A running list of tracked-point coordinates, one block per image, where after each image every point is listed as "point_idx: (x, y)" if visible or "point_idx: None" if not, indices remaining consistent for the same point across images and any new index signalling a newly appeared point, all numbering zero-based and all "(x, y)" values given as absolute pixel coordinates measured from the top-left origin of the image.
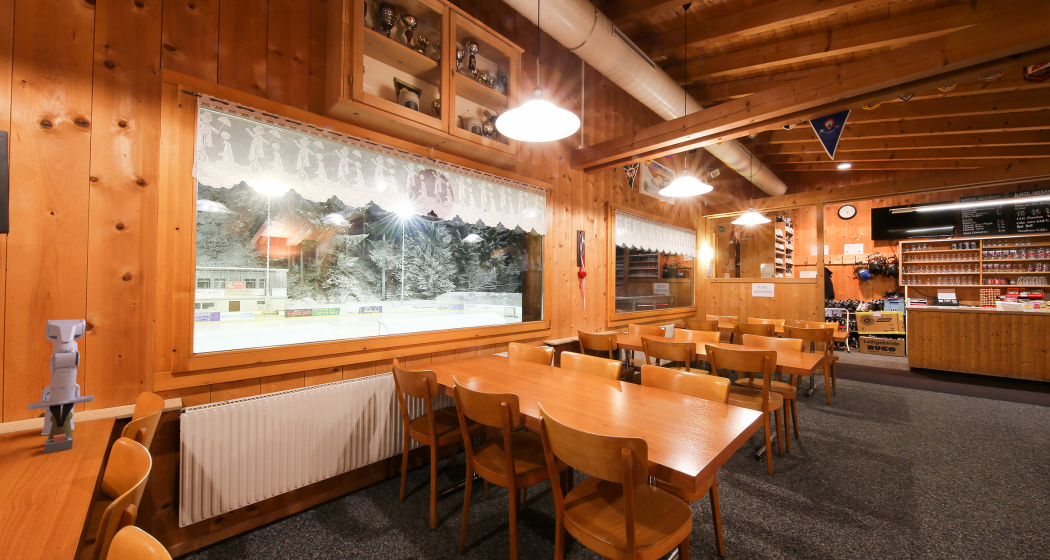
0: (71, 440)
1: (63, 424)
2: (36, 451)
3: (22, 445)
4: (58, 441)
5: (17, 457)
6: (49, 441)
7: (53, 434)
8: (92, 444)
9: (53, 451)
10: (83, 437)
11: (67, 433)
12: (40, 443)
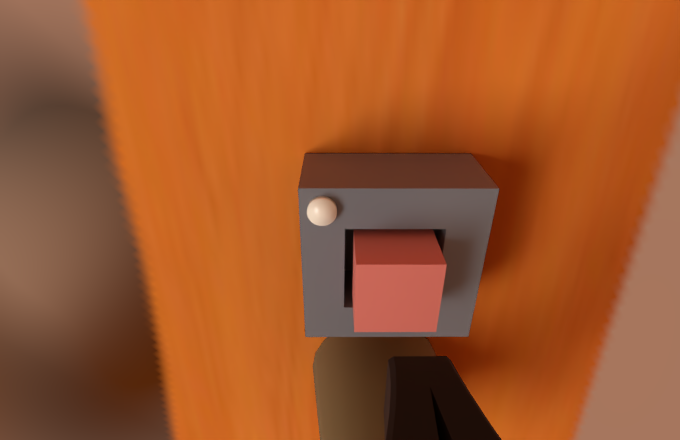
0: (306, 186)
1: (394, 377)
2: (496, 265)
3: (522, 436)
4: (401, 220)
5: (606, 198)
6: (456, 277)
7: None
8: (176, 163)
9: (418, 156)
10: (264, 390)
11: (342, 398)
12: None
